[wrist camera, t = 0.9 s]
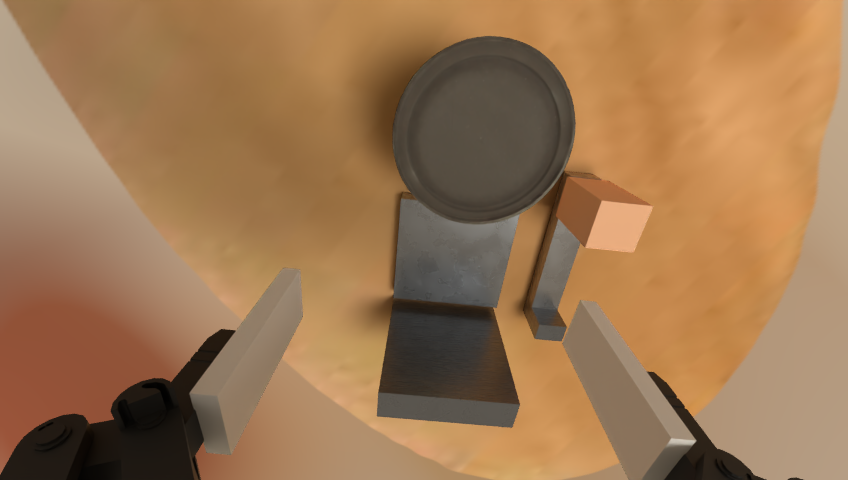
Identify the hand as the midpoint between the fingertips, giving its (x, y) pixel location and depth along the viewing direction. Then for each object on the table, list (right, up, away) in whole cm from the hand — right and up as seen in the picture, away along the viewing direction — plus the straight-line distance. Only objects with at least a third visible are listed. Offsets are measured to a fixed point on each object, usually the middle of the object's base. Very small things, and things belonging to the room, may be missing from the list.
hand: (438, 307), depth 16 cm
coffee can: (+3, +15, +16) cm, 22 cm away
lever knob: (+15, +7, +17) cm, 23 cm away
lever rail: (+14, +3, +21) cm, 26 cm away
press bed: (+2, 0, +23) cm, 23 cm away
